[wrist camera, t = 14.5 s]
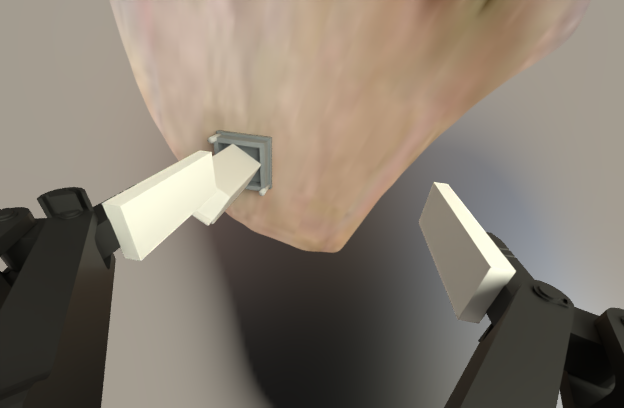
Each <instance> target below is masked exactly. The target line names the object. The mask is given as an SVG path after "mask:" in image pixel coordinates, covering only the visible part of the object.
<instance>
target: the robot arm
mask: <svg viewBox="0 0 624 408" xmlns="http://www.w3.org/2000/svg"><path fill="white" fill-rule="evenodd" d="M216 192H217V190H216V182H215V175H214V167H213V160H212V152H208V151H201V150H199V151H197V152H196V153H194V154H192V155H190V156H188V157H186V158H184V159H183V160H181V161H179V162H177V163H175V164H174V165H172V166H170V167H168V168H166V169H164V170H162V171H160V172H159V173H157V174H155V175H153V176H151V177H149V178H148V179H146V180H144V181H142V182H140V183H138V184H136V185H133V186H132V187H130V188H128V189H126V190H125V191H122V192H120V193H119V194H118V195H115V196H113V197H111V198H109V199H107V200H106V201H104V202H102V203H100V204H98V205H96V206H94V207H92V205H91V202H90V200H89V198H88V196H87V194H86V191H85V190H84V189H82V188H78V187H77V188H76V187H70V188H62V189H57V190H53V191H50V192H47V193H45V194H43V195H41V196H40V197H38V198H37V200H38V202H39V204H40V206H41V207H42V209H43V211H44V213H45V214H46V216H47V218H39V219H35V218H34V217H33V215H32V214H31V212H30V211H29V209H28V208H24V207H15V208H5V209H2V210H1V209H0V257H1V258H2V260H3V261H4V262H5V264H6V265H7V266H8V267H7V268H6V269H5V270H4V271H3V272H1V271H0V408H101V401H102V391H103V381H104V371H105V361H106V351H107V340H108V330H109V321H110V311H111V301H112V291H113V280H114V271H115V256H114V254H113V252H115V251H116V250H117V249H118V248H121V250H122V253H123V255H124V258H128V259H133V260H139V261H141V260H142V259H143V258H145V256H147V255H148V254H149V253H150V252H151V251H152V250H153V249H155V248H156V247H157V246H158V245H159V244H160V243H161V242H162V241H163V240H164V239H165V238H167V237H168V236H169V235H170V234H171V233H172V232H173V231H174V230H175V229H177V227H179V226H180V225H181V224H182V223H183V222H184V221H185V220H186V219H188V218H189V217H190V216H191V215H192V214H193V213H194V212H195V211H196V210H197V209H199V208H200V207H201V206H202V205H203V204H204V203H205V202H206V201H207V200H208V199H210V198H211V197H212V196H213V195H214V194H215V193H216ZM419 225H420V227H421V230H422V232H423V235H424V237H425V240H426V242H427V245H428V247H429V250H430V252H431V255H432V257H433V260H434V262H435V264H436V267H437V269H438V272H439V274H440V277H441V279H442V282H443V284H444V287H445V289H446V292H447V294H448V297H449V299H450V302H451V304H452V307H453V309H454V312H455V314H456V316H457V319H458V320H462V321H468V322H474V323H480V321H481V320H482V318H483V317H484V316H485V314H486V313H487V315H488V317H489V319H490V321H491V324H490V326H489V327H488V328H487V330H486V331H485V332H484V334H483V335H482V336H481V338H480V339H479V340H478V341H479V342H480V343H479V345H478V346H477V348H476V350H475V352H474V354H473V356H472V357H471V359H470V361H469V363H468V365H467V367H466V368H465V370H464V372H463V374H462V376H461V378H460V380H459V381H458V383H457V385H456V387H455V389H454V391H453V392H452V394H451V396H450V398H449V400H448V401H447V403H446V405H445V407H444V408H556V405H557V400H558V394H559V389H560V394H561V399H562V405H563V408H624V310H623V309H620V308H609V309H607V310H606V311H605V312H604V313H603V314H601V315H600V316H598V315H595V314H592V313H589V312H587V311H584V310H581V309H579V308H576V307H574V304H573V303H572V301H571V300H570V299H569V298H568V297H567V296H566V295H565V294H563V293H562V292H561V291H560V290H558V289H556V288H555V287H553V286H551V285H549V284H547V283H544V282H542V281H538V280H534V279H533V277H532V276H531V275H530V274H529V273H528V271H527V270H526V269H525V268H524V267H523V265H522V264H521V263H520V262H519V261H518V260H517V258H514V255H513V254H512V252H511V251H509V249H508V248H507V247H506V245H505V244H504V243H503V242H502V241H501V240H500V239H499V238H497V237H496V236H495V235H493V234H492V233H488V232H485V231H484V230H483V228H482V227H481V226H480V224H479V223H478V222H477V221H476V219H475V218H474V217H473V216H472V214H471V213H470V212H469V210H468V209H467V208H466V207H465V205H464V204H463V203H462V202H461V200H460V199H459V198H458V197H457V195H456V194H455V193H454V192H453V190H452V189H451V188H450V186H449V185H448V184H443V183H436V182H434V183H433V185H432V188H431V190H430V193H429V196H428V199H427V201H426V204H425V207H424V209H423V212H422V214H421V217H420V220H419Z"/></svg>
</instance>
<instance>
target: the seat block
mask: <svg viewBox="0 0 624 408" xmlns="http://www.w3.org/2000/svg"><path fill="white" fill-rule="evenodd" d="M208 142H209V143H214V151H215V155H216V154H217V153H219V152H220V151H222V150H224V149H225V148H227V147H228V146H230V145H231V144H234V145H236V146H237V147H239V148H240V149H241V150H243V151H244V152H245V153H247V154H248V155H249V156H251V157H252V158H253V159H255V160H256V161H257V162H259V163H260V164H261V166H260V167H259V169H258V170H257V172H256V173H255V175H254V176H253V178H252V179H251V181H250V182H249V184H248V185H247V187H246V188H245V189H250V190H256V191H260V192H259V195H261V196H263V195H264V194H265V193H266V191H267V190H268V189H271V188H272V137H267V136H259V135H251V134H243V133H235V132H228V131H220V130H218V131H216V134H215V135H213V136H211V137H209V138H208Z"/></svg>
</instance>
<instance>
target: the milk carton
mask: <svg viewBox="0 0 624 408" xmlns="http://www.w3.org/2000/svg"><path fill="white" fill-rule="evenodd" d="M212 160H213V167H214V175H215V182H216V190H217V192H216V193H215V194H214V195H213V196H212V197H211V198H210V199H208V200H207V201H206V202H205V203H204V204H203V205H202V206H201V207H200V208H199V209H197V210H196V211H195V212H194V213H193V214H192V216H194V217H195V218H197V219H198V220H200V221H202V222H203V223H205V224H206V225H209V224H210V223H211V224H213V223H214V222H215V221H216V220H217V219H218V218H219V217H220V216H221V215H222V213H223V212H224V211H225V210H226V209H227V208H228V207H229V206H230V205H231V203H232V202H233V201H234V200H235V199H236V198H237V197H238V196H239V195H240V193H241V192H242V191H243V190H244V189H245V188H246V187H247V185H248V184H249V182H250V181H251V179H252V178H253V176H254V175H255V173H256V172H257V170H258V169H259V167H260V166H261V164H260V163H259V162H257V161H256V160H255V159H253V158H252V157H251V156H249V155H248V154H247V153H245V152H244V151H243V150H241V149H240V148H239V147H237V146H236V145H234V144H231V145H230V146H228V147H227V148H225V149H224V150H222V151H220V152H219V153H217V154H216V155H214V156H212Z"/></svg>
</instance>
